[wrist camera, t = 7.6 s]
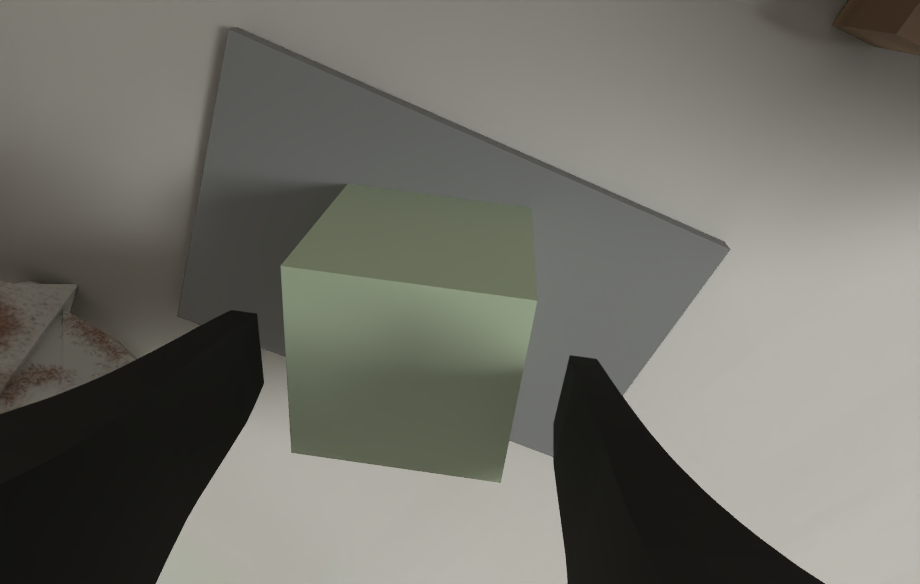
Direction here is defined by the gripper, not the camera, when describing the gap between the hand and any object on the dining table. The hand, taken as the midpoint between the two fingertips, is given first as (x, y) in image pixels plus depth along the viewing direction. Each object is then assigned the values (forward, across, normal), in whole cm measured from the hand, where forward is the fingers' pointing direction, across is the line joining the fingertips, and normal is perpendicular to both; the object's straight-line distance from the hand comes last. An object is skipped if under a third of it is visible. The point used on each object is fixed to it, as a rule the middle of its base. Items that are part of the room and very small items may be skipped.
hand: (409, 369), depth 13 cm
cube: (+4, 0, 0) cm, 4 cm away
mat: (+5, 0, 0) cm, 5 cm away
